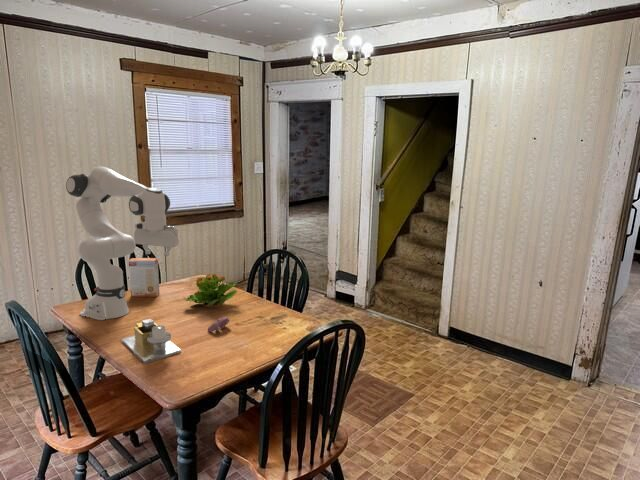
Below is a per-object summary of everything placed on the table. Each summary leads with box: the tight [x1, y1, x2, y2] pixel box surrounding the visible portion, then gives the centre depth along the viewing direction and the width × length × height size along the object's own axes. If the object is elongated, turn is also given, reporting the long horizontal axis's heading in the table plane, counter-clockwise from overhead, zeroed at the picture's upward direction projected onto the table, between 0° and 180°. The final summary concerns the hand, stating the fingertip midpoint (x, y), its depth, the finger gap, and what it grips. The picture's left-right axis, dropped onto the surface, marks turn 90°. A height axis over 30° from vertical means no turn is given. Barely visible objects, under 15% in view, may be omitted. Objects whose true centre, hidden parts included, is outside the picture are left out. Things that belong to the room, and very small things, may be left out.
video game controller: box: [207, 316, 230, 333], centre depth 198 cm, size 10×5×7 cm, turn 150°
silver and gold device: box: [121, 321, 182, 365], centre depth 178 cm, size 26×15×12 cm, turn 43°
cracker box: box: [128, 257, 161, 298], centre depth 236 cm, size 14×6×21 cm, turn 93°
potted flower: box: [183, 273, 238, 308], centre depth 227 cm, size 25×24×18 cm
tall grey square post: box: [141, 318, 155, 333], centre depth 180 cm, size 4×4×10 cm
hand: (157, 254), depth 194 cm, fingers open, 8 cm apart
